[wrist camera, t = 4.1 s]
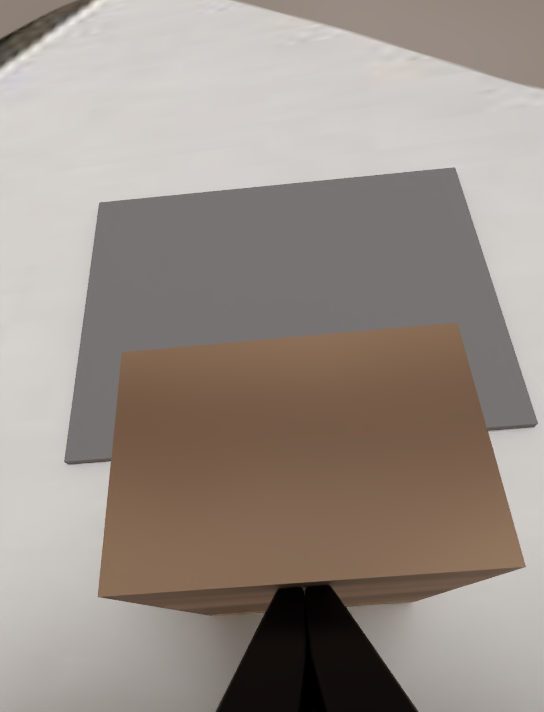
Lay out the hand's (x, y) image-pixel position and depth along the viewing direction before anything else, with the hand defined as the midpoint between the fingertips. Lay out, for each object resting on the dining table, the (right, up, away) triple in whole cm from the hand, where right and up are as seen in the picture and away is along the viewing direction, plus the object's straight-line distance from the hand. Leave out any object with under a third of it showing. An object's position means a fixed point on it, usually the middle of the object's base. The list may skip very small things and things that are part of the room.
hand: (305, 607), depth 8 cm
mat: (0, +6, +12) cm, 14 cm away
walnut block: (0, -2, +8) cm, 8 cm away
